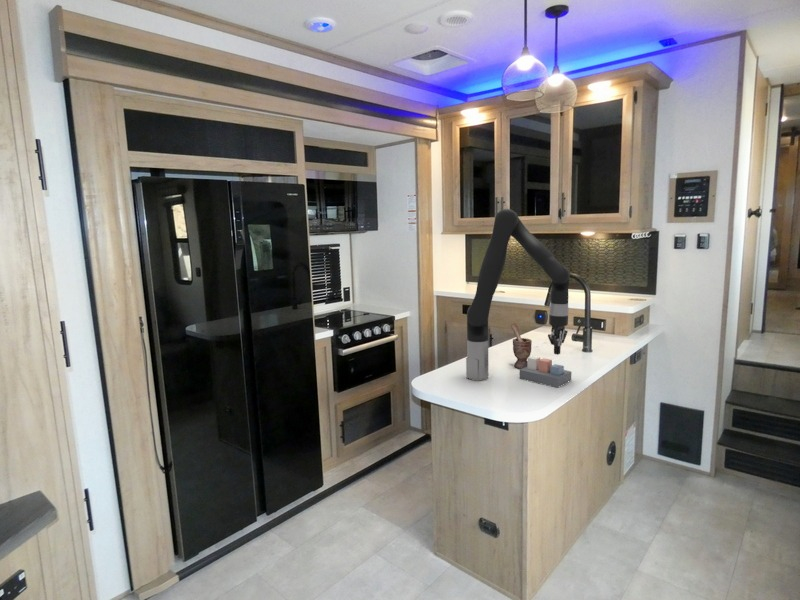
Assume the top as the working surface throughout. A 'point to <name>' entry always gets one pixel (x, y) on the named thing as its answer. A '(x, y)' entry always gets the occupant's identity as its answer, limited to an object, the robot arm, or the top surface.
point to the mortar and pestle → (520, 348)
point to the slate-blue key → (557, 369)
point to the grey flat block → (545, 377)
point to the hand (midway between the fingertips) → (557, 353)
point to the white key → (533, 363)
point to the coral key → (545, 365)
